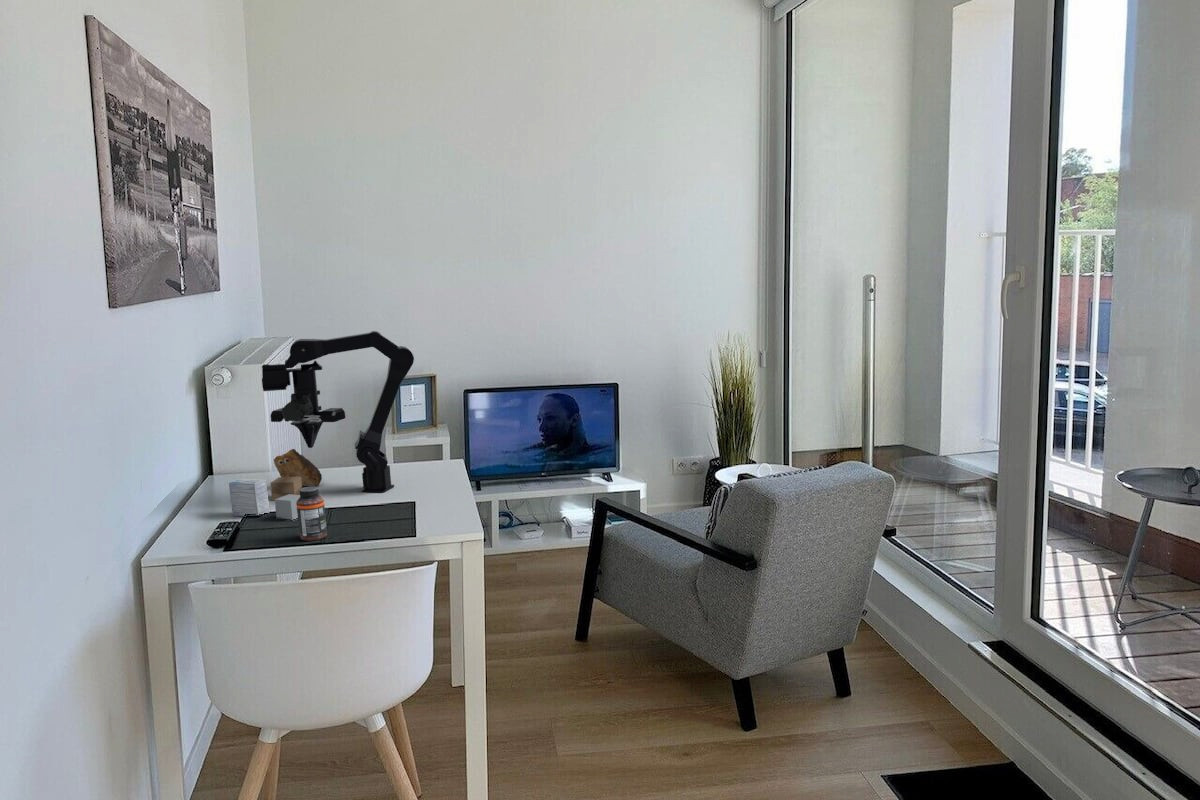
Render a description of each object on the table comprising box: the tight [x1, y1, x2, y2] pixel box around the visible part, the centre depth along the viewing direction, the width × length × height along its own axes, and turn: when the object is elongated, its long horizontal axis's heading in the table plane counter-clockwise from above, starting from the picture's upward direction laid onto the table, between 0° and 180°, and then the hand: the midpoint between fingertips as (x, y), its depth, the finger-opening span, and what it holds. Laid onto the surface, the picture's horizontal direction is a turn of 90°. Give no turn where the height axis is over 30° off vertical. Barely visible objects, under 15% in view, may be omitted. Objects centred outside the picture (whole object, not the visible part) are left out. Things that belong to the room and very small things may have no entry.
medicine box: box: [228, 477, 271, 517], centre depth 241 cm, size 8×4×9 cm, turn 71°
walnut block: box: [270, 476, 303, 502], centre depth 257 cm, size 6×6×5 cm
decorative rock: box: [273, 448, 323, 487], centre depth 269 cm, size 12×6×11 cm, turn 96°
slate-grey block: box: [274, 494, 300, 521], centre depth 237 cm, size 5×5×5 cm
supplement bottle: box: [296, 486, 328, 542], centre depth 219 cm, size 6×6×11 cm
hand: (310, 447), depth 255 cm, fingers closed
